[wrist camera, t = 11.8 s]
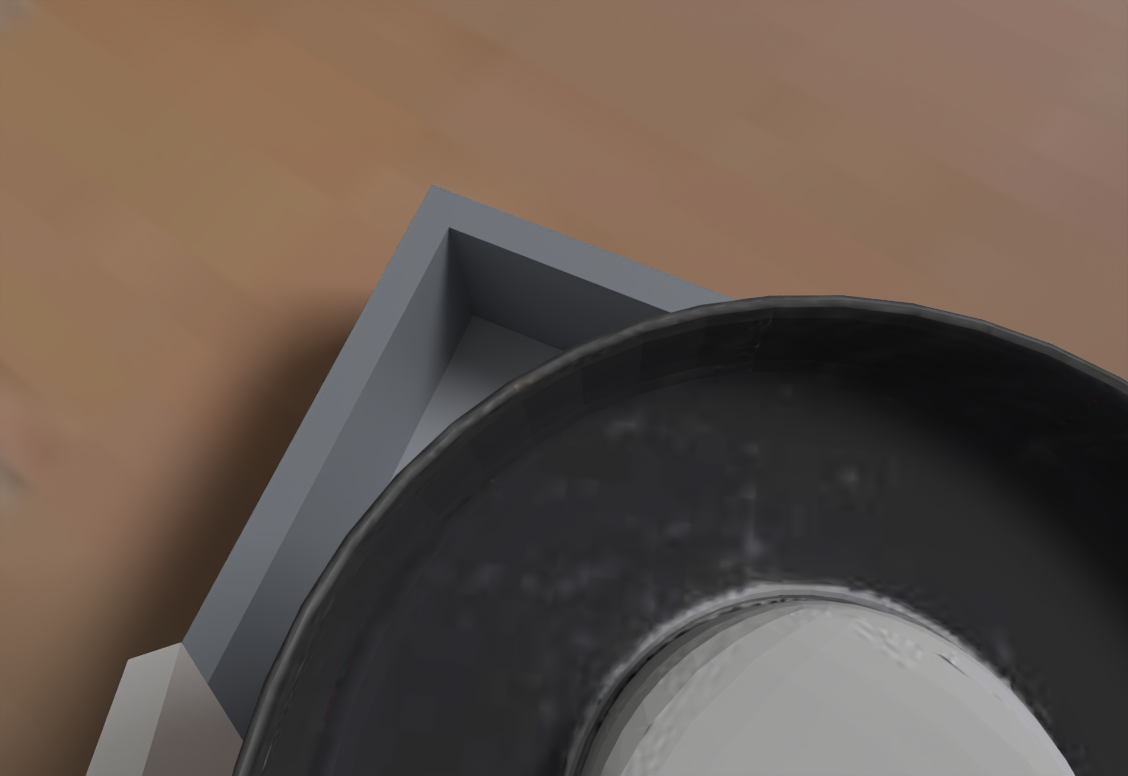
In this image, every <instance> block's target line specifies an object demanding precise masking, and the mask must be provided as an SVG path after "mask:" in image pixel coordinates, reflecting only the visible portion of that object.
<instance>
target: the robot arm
mask: <svg viewBox="0 0 1128 776" xmlns="http://www.w3.org/2000/svg"><path fill="white" fill-rule="evenodd" d="M242 743H243V740H242V739H241V737H240V735H239V734H238V732H237V731H236V729H235V727H234V726H233V724H232V723H231V721H230V719H229V718H228V716H227V715H226V713H225V711H224V710H223V708H222V707H221V705H220V703H219V702H218V700H217V699H216V697H215V695H214V694H213V692H212V691H211V689H210V687H209V686H208V684H207V683H206V681H205V679H204V678H203V676H202V675H201V673H200V671H199V670H198V668H197V667H196V665H195V663H194V662H193V660H192V659H191V657H190V655H189V654H188V652H187V651H186V649H185V647H184V646H183V644H182V643H181V642H180V643H177V644H174V645H171V646H168V647H165V648H162V649H159V650H156V651H153V652H150V653H147V654H144V655H140V656H137V657H134V658H131V659H128V662H127V664H126V667H125V670H124V673H123V675H122V678H121V681H120V684H119V686H118V689H117V692H116V694H115V697H114V700H113V703H112V705H111V708H110V711H109V714H108V716H107V719H106V722H105V724H104V727H103V730H102V733H101V735H100V738H99V741H98V744H97V746H96V749H95V752H94V755H93V757H92V760H91V763H90V765H89V768H88V771H87V774H86V776H232V774H233V770H234V766H235V763H236V760H237V757H238V754H239V752H240V749H241V746H242Z"/></svg>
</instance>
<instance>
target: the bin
mask: <svg viewBox="0 0 1128 776" xmlns="http://www.w3.org/2000/svg"><path fill="white" fill-rule="evenodd" d="M726 301H734V299H732V298H729V297H727V296H724V295H721V294H719V293H716V292H713V291H711V290H708V289H705V288H703V287H700V286H698V285H695V284H692V283H690V282H687V281H684V280H682V279H679V278H676V277H674V276H671V275H669V274H666V273H663V272H661V271H658V270H655V269H653V268H650V267H647V266H645V265H642V264H640V263H637V262H634V261H632V260H629V259H626V258H624V257H621V256H618V255H616V254H613V253H611V252H608V251H605V250H603V249H600V248H597V247H595V246H592V245H589V244H587V243H584V242H582V241H579V240H576V239H574V238H571V237H568V236H566V235H563V234H560V233H558V232H555V231H552V230H550V229H547V228H545V227H542V226H539V225H537V224H534V223H531V222H529V221H526V220H523V219H521V218H518V217H516V216H513V215H510V214H508V213H505V212H502V211H500V210H497V209H494V208H492V207H489V206H487V205H484V204H481V203H479V202H476V201H473V200H471V199H468V198H465V197H463V196H460V195H458V194H455V193H452V192H450V191H447V190H444V189H442V188H439V187H436V186H434V185H431V187H430V189H429V191H428V192H427V194H426V196H425V198H424V200H423V202H422V203H421V205H420V207H419V209H418V211H417V212H416V214H415V216H414V218H413V220H412V222H411V223H410V225H409V227H408V229H407V231H406V233H405V234H404V236H403V238H402V240H401V242H400V244H399V245H398V247H397V249H396V251H395V253H394V255H393V256H392V258H391V260H390V262H389V264H388V266H387V267H386V269H385V271H384V273H383V275H382V277H381V278H380V280H379V282H378V284H377V286H376V288H375V289H374V291H373V293H372V295H371V297H370V299H369V300H368V302H367V304H366V306H365V308H364V310H363V311H362V313H361V315H360V317H359V319H358V321H357V322H356V324H355V326H354V328H353V330H352V332H351V333H350V335H349V337H348V339H347V341H346V342H345V344H344V346H343V348H342V350H341V352H340V353H339V355H338V357H337V359H336V361H335V363H334V364H333V366H332V368H331V370H330V372H329V374H328V375H327V377H326V379H325V381H324V383H323V385H322V386H321V388H320V390H319V392H318V394H317V396H316V397H315V399H314V401H313V403H312V405H311V407H310V408H309V410H308V412H307V414H306V416H305V418H304V419H303V421H302V423H301V425H300V427H299V429H298V430H297V432H296V434H295V436H294V438H293V440H292V441H291V443H290V445H289V447H288V449H287V451H286V452H285V454H284V456H283V458H282V460H281V461H280V463H279V465H278V467H277V469H276V471H275V472H274V474H273V476H272V478H271V480H270V482H269V483H268V485H267V487H266V489H265V491H264V493H263V494H262V496H261V498H260V500H259V502H258V504H257V505H256V507H255V509H254V511H253V513H252V515H251V516H250V518H249V520H248V522H247V524H246V526H245V527H244V529H243V531H242V533H241V535H240V537H239V538H238V540H237V542H236V544H235V546H234V548H233V549H232V551H231V553H230V555H229V557H228V559H227V560H226V562H225V564H224V566H223V568H222V570H221V571H220V573H219V575H218V577H217V579H216V581H215V582H214V584H213V586H212V588H211V590H210V591H209V593H208V595H207V597H206V599H205V601H204V602H203V604H202V606H201V608H200V610H199V612H198V613H197V615H196V617H195V619H194V621H193V623H192V624H191V626H190V628H189V630H188V632H187V634H186V635H185V637H184V639H183V641H182V644H183V646H184V647H185V649H186V651H187V652H188V654H189V655H190V657H191V659H192V660H193V662H194V663H195V665H196V667H197V668H198V670H199V671H200V673H201V675H202V676H203V678H204V679H205V681H206V683H207V684H208V686H209V687H210V689H211V691H212V692H213V694H214V695H215V697H216V699H217V700H218V702H219V703H220V705H221V707H222V708H223V710H224V711H225V713H226V715H227V716H228V718H229V719H230V721H231V723H232V724H233V726H234V727H235V729H236V731H237V732H238V734H239V735H240V737H241V739H242V740H244V737H245V734H246V732H247V729H248V726H249V723H250V720H251V717H252V714H253V712H254V709H255V706H256V703H257V700H258V697H259V694H260V691H261V689H262V686H263V683H264V680H265V678H266V676H267V674H268V672H269V670H270V668H271V666H272V664H273V662H274V660H275V658H276V656H277V654H278V652H279V650H280V648H281V645H282V643H283V641H284V639H285V637H286V635H287V633H288V631H289V629H290V627H291V625H292V623H293V621H294V619H295V617H296V615H297V613H298V610H299V608H300V606H301V604H302V603H303V601H304V600H305V598H306V597H307V595H308V593H309V592H310V590H311V589H312V587H313V586H314V584H315V583H316V581H317V579H318V578H319V576H320V575H321V573H322V572H323V570H324V569H325V567H326V565H327V564H328V562H329V561H330V559H331V558H332V556H333V555H334V553H335V552H336V550H337V548H338V547H339V545H340V544H341V542H342V541H343V539H344V538H345V536H346V535H347V534H348V532H349V531H350V530H351V529H352V527H353V526H354V525H355V524H356V523H357V521H358V520H359V519H360V518H361V517H362V515H363V514H364V513H365V512H366V511H367V509H368V508H369V507H370V506H371V505H372V503H373V502H374V501H375V500H376V499H377V497H378V496H379V495H380V494H381V493H382V491H383V490H384V489H385V488H386V487H387V485H388V484H389V483H390V482H391V481H392V479H393V478H394V477H395V476H396V475H397V474H398V473H399V472H400V471H401V470H402V469H403V468H404V467H405V466H406V465H407V464H408V463H409V462H411V461H412V460H413V459H414V458H415V457H416V456H417V455H418V454H419V453H420V452H421V451H422V450H423V449H424V448H425V447H426V446H428V445H429V444H430V443H431V442H432V441H433V440H434V439H435V438H436V437H437V436H438V435H439V434H440V433H441V432H442V431H443V430H444V429H446V428H447V427H448V426H449V425H450V424H451V423H452V422H454V421H455V420H457V419H458V418H459V417H461V416H462V415H463V414H465V413H466V412H467V411H469V410H470V409H472V408H473V407H474V406H476V405H477V404H478V403H480V402H481V401H483V400H484V399H485V398H487V397H488V396H489V395H491V394H492V393H493V392H495V391H496V390H498V389H499V388H500V387H502V386H503V385H504V384H506V383H507V382H509V381H510V380H512V379H514V378H516V377H518V376H519V375H521V374H523V373H525V372H527V371H528V370H530V369H532V368H534V367H536V366H538V365H539V364H541V363H543V362H545V361H547V360H548V359H550V358H552V357H554V356H556V355H558V354H559V353H561V352H563V351H565V350H567V349H568V348H570V347H573V346H575V345H578V344H580V343H583V342H585V341H588V340H590V339H593V338H595V337H598V336H600V335H603V334H605V333H608V332H611V331H613V330H616V329H618V328H621V327H623V326H626V325H628V324H631V323H633V322H636V321H640V320H644V319H648V318H652V317H656V316H660V315H663V314H667V313H671V312H675V311H679V310H683V309H687V308H691V307H694V306H698V305H703V304H711V303H718V302H726Z"/></svg>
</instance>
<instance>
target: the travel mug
mask: <svg viewBox="0 0 1128 776" xmlns="http://www.w3.org/2000/svg"><path fill="white" fill-rule="evenodd" d="M232 776H1128V382H1127V381H1125V380H1124V379H1122V378H1120V377H1118V376H1116V375H1114V374H1112V373H1110V372H1108V371H1106V370H1104V369H1102V368H1100V367H1098V366H1096V365H1094V364H1091V363H1089V362H1087V361H1085V360H1083V359H1081V358H1079V357H1077V356H1075V355H1073V354H1071V353H1069V352H1067V351H1065V350H1063V349H1061V348H1058V347H1056V346H1054V345H1052V344H1049V343H1047V342H1044V341H1041V340H1038V339H1035V338H1033V337H1030V336H1027V335H1024V334H1021V333H1018V332H1016V331H1013V330H1010V329H1007V328H1004V327H1001V326H999V325H996V324H993V323H990V322H987V321H985V320H981V319H977V318H973V317H968V316H964V315H960V314H956V313H951V312H947V311H943V310H938V309H934V308H930V307H925V306H921V305H917V304H913V303H904V302H895V301H887V300H878V299H869V298H860V297H852V296H843V295H830V296H765V297H757V298H749V299H742V300H734V301H726V302H718V303H711V304H703V305H698V306H694V307H691V308H687V309H683V310H679V311H675V312H671V313H667V314H663V315H660V316H656V317H652V318H648V319H644V320H640V321H636V322H633V323H631V324H628V325H626V326H623V327H621V328H618V329H616V330H613V331H611V332H608V333H605V334H603V335H600V336H598V337H595V338H593V339H590V340H588V341H585V342H583V343H580V344H578V345H575V346H573V347H570V348H568V349H567V350H565V351H563V352H561V353H559V354H558V355H556V356H554V357H552V358H550V359H548V360H547V361H545V362H543V363H541V364H539V365H538V366H536V367H534V368H532V369H530V370H528V371H527V372H525V373H523V374H521V375H519V376H518V377H516V378H514V379H512V380H510V381H509V382H507V383H506V384H504V385H503V386H502V387H500V388H499V389H498V390H496V391H495V392H493V393H492V394H491V395H489V396H488V397H487V398H485V399H484V400H483V401H481V402H480V403H478V404H477V405H476V406H474V407H473V408H472V409H470V410H469V411H467V412H466V413H465V414H463V415H462V416H461V417H459V418H458V419H457V420H455V421H454V422H452V423H451V424H450V425H449V426H448V427H447V428H446V429H444V430H443V431H442V432H441V433H440V434H439V435H438V436H437V437H436V438H435V439H434V440H433V441H432V442H431V443H430V444H429V445H428V446H426V447H425V448H424V449H423V450H422V451H421V452H420V453H419V454H418V455H417V456H416V457H415V458H414V459H413V460H412V461H411V462H409V463H408V464H407V465H406V466H405V467H404V468H403V469H402V470H401V471H400V472H399V473H398V474H397V475H396V476H395V477H394V478H393V479H392V481H391V482H390V483H389V484H388V485H387V487H386V488H385V489H384V490H383V491H382V493H381V494H380V495H379V496H378V497H377V499H376V500H375V501H374V502H373V503H372V505H371V506H370V507H369V508H368V509H367V511H366V512H365V513H364V514H363V515H362V517H361V518H360V519H359V520H358V521H357V523H356V524H355V525H354V526H353V527H352V529H351V530H350V531H349V532H348V534H347V535H346V536H345V538H344V539H343V541H342V542H341V544H340V545H339V547H338V548H337V550H336V552H335V553H334V555H333V556H332V558H331V559H330V561H329V562H328V564H327V565H326V567H325V569H324V570H323V572H322V573H321V575H320V576H319V578H318V579H317V581H316V583H315V584H314V586H313V587H312V589H311V590H310V592H309V593H308V595H307V597H306V598H305V600H304V601H303V603H302V604H301V606H300V608H299V610H298V613H297V615H296V617H295V619H294V621H293V623H292V625H291V627H290V629H289V631H288V633H287V635H286V637H285V639H284V641H283V643H282V645H281V648H280V650H279V652H278V654H277V656H276V658H275V660H274V662H273V664H272V666H271V668H270V670H269V672H268V674H267V676H266V678H265V680H264V683H263V686H262V689H261V691H260V694H259V697H258V700H257V703H256V706H255V709H254V712H253V714H252V717H251V720H250V723H249V726H248V729H247V732H246V734H245V737H244V740H243V743H242V746H241V749H240V752H239V754H238V757H237V760H236V763H235V766H234V770H233V774H232Z"/></svg>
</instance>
